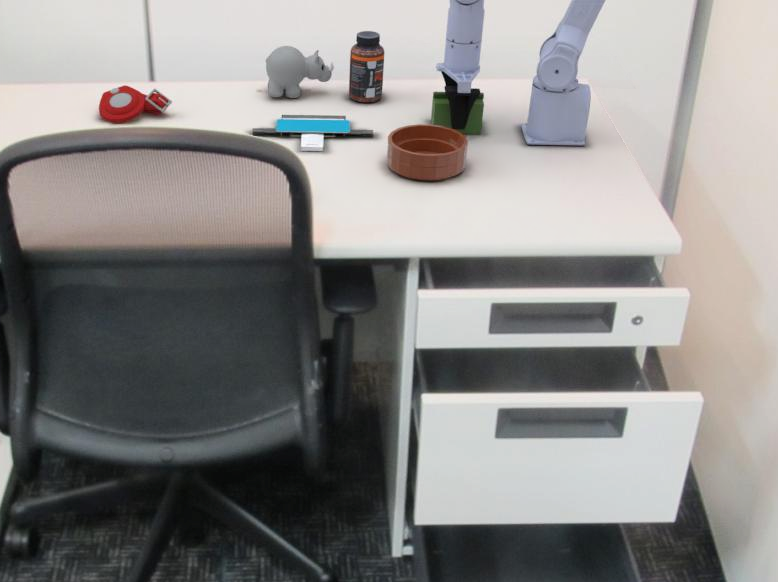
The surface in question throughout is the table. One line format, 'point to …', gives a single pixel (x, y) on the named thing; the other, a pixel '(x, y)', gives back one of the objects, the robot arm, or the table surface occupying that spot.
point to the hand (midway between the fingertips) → (456, 119)
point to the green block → (443, 117)
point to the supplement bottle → (366, 68)
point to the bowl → (426, 152)
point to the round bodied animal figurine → (293, 71)
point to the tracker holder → (130, 104)
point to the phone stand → (312, 129)
